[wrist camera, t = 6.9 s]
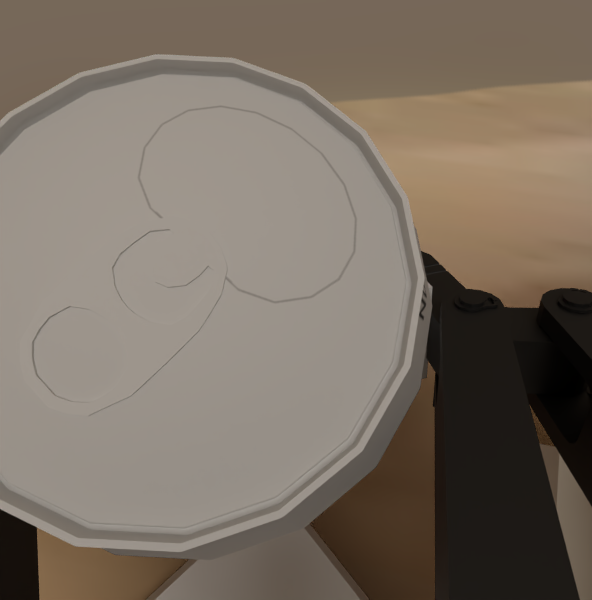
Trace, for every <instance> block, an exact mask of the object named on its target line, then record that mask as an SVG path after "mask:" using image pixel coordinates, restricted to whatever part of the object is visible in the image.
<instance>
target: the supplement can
mask: <svg viewBox="0 0 592 600" xmlns="http://www.w3.org/2000/svg"><path fill="white" fill-rule="evenodd" d="M431 312H432V302H431V297H430V292H429V287H428V283H427V278H426V273H425V268H424V264H423V259H422V254H421V250H420V245H419V240H418V235H417V231H416V228H415V227H414V225H413V220H412V215H411V211H410V206H409V201H408V197H407V195H406V194H405V192H404V190H403V189H402V187H401V186H400V184H399V183H398V181H397V179H396V178H395V176H394V175H393V173H392V172H391V170H390V168H389V167H388V165H387V164H386V162H385V161H384V159H383V157H382V156H381V154H380V153H379V151H378V150H377V148H376V146H375V145H374V143H373V142H372V140H371V138H370V137H369V135H368V134H367V132H366V131H365V130H364V129H363V128H361V127H360V126H359V125H358V124H356V123H355V122H354V121H352V120H351V119H350V118H349V117H347V116H346V115H345V114H343V113H342V112H341V111H340V110H338V109H337V108H336V107H335V106H333V105H332V104H331V103H329V102H328V101H327V100H325V99H324V98H323V97H322V96H321V95H319V94H318V93H317V92H315V91H314V90H313V89H312V88H310V87H309V86H308V85H306V84H305V83H302V82H299V81H296V80H294V79H291V78H288V77H285V76H282V75H280V74H277V73H274V72H271V71H269V70H266V69H263V68H260V67H257V66H255V65H252V64H249V63H246V62H243V61H241V60H238V59H235V58H223V57H202V56H181V55H161V54H156V55H151V56H148V57H143V58H139V59H135V60H131V61H126V62H122V63H118V64H114V65H110V66H106V67H101V68H97V69H93V70H89V71H85V72H81V73H78V74H76V75H74V76H73V77H71V78H69V79H67V80H66V81H64V82H62V83H60V84H58V85H57V86H55V87H53V88H51V89H50V90H48V91H46V92H44V93H43V94H41V95H39V96H37V97H35V98H34V99H32V100H30V101H28V102H27V103H25V104H23V105H21V106H20V107H18V108H16V109H15V110H12V111H11V112H9V113H7V114H6V115H5V116H4V118H3V119H2V120H1V121H0V509H1V510H3V511H5V512H7V513H9V514H11V515H13V516H15V517H17V518H19V519H21V520H23V521H25V522H27V523H29V524H31V525H33V526H35V527H37V528H39V529H41V530H43V531H45V532H47V533H49V534H51V535H53V536H55V537H57V538H59V539H61V540H64V541H66V542H68V543H70V544H72V545H74V546H77V547H95V548H102V549H104V550H106V551H108V552H110V553H112V554H114V555H126V556H144V557H163V558H181V559H199V560H213V559H216V558H219V557H222V556H225V555H228V554H231V553H234V552H237V551H239V550H242V549H245V548H248V547H251V546H254V545H257V544H260V543H263V542H266V541H269V540H271V539H274V538H277V537H280V536H283V535H286V534H289V533H292V532H295V531H298V530H301V529H303V528H305V527H306V526H307V525H308V524H309V523H311V522H312V521H313V520H314V519H315V518H316V517H318V516H319V515H320V514H321V513H322V512H324V511H325V510H326V509H327V508H328V507H330V506H331V505H332V504H333V503H334V502H335V501H337V500H338V499H339V498H340V497H341V496H343V495H344V494H345V493H346V492H347V491H348V490H350V489H351V488H352V487H353V486H354V485H356V484H357V483H358V482H359V481H360V480H362V479H363V478H364V477H365V476H366V475H367V474H369V473H370V472H371V471H372V470H373V469H375V468H376V467H377V465H378V463H379V461H380V459H381V458H382V456H383V454H384V452H385V450H386V449H387V447H388V445H389V443H390V441H391V440H392V438H393V436H394V434H395V432H396V431H397V429H398V427H399V425H400V423H401V422H402V420H403V418H404V416H405V414H406V413H407V411H408V409H409V407H410V406H411V404H412V402H413V400H414V398H415V397H416V395H417V393H418V391H419V389H420V385H421V378H422V372H423V365H424V358H425V352H426V345H427V338H428V332H429V325H430V318H431Z"/></svg>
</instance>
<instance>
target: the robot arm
mask: <svg viewBox="0 0 592 600" xmlns="http://www.w3.org/2000/svg"><path fill="white" fill-rule="evenodd" d="M421 254H422V259H423V264H424V268H425V273H426V278H427V283H428V287H429V292H430V297H431V302H432V312H431V318H430V325H429V332H428V338H427V345H426V352H425V358H424V365H423V372H422V378H421V379H424V378H427V366H428V361H429V363H430V364H431V366H432V367H433V369H434V370H435V372H436V373H435V386H434V399H433V407H435V600H580V598H579V594H578V590H577V586H576V582H575V579H574V575H573V571H572V567H571V563H570V559H569V555H568V552H567V548H566V544H565V540H564V536H563V532H562V528H561V525H560V521H559V517H558V513H557V509H556V505H555V502H554V498H553V494H552V490H551V486H550V482H549V478H548V475H547V471H546V467H545V463H544V459H543V455H542V452H541V448H540V444H539V440H538V436H537V432H536V428H535V425H534V421H533V417H532V413H531V409H530V406H531V408H532V409H533V411H534V412H535V414H536V416H537V417H538V419H539V421H540V422H541V424H542V426H543V427H544V429H545V431H546V432H547V434H548V436H549V437H550V439H551V440H552V442H553V444H554V445H555V447H556V449H557V450H558V452H559V454H560V455H561V457H562V459H563V460H564V462H565V464H566V465H567V467H568V468H569V470H570V472H571V473H572V475H573V477H574V478H575V480H576V482H577V483H578V485H579V487H580V488H581V490H582V492H583V493H584V495H585V497H586V498H587V500H588V501H589V503H590V505H591V506H592V293H591V292H589V291H587V290H582V289H580V290H578V289H576V288H570V289H566V288H560V289H555V290H550V291H548V292H546V293H545V294H543V296H542V299H541V302H540V306H539V308H509V307H504V305H503V304H502V302H501V301H500V299H499V298H497V297H495V296H494V295H492V294H490V293H487V292H484V291H481V290H473V289H466V288H465V287H464V286H462V285H461V284H460V283H459V282H458V281H457V280H456V279H455V278H454V277H453V276H452V275H451V274H450V273H449V272H448V271H446V269H445V268H444V267H443V266H442V265H439V263H438V262H437V261H436V260H435V259H434V258H433V257H432V256H431V255H429V254H427V253H425V252H422V251H421ZM529 404H530V405H529ZM0 600H39V576H38V550H37V527H35V526H33V525H31V524H29V523H27V522H25V521H23V520H21V519H19V518H17V517H15V516H13V515H11V514H9V513H7V512H5V511H3V510H1V509H0Z"/></svg>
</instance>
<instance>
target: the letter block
mask: <svg viewBox="0 0 592 600" xmlns="http://www.w3.org/2000/svg"><path fill="white" fill-rule="evenodd" d="M540 448H541V452H542V455H543V459H544V463H545V467H546V471H547V475H548V478H549V482H550V486H551V490H552V494H553V498H554V502H555V505H556V509H557V513H558V517H559V521H560V525H561V528H562V532H563V536H564V540H565V544H566V548H567V552H568V555H569V559H570V563H571V567H572V571H573V575H574V579H575V582H576V586H577V590H578V594H579V598H580V600H592V506H591V505H590V503H589V501H588V500H587V498H586V497H585V495H584V493H583V492H582V490H581V488H580V487H579V485H578V483H577V482H576V480H575V478H574V477H573V475H572V473H571V472H570V470H569V468H568V467H567V465H566V464H565V462H564V460H563V459H562V457H561V455H560V454H559V452H558V450H557V449H556V447H554V446H549V445H543V444H540Z"/></svg>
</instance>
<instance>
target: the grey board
mask: <svg viewBox="0 0 592 600" xmlns="http://www.w3.org/2000/svg"><path fill="white" fill-rule="evenodd" d="M146 600H369V598H368V597H367V596H366V595H365V593H364V592H363V591H362V589H361V588H360V587H359V586H358V584H357V583H356V582H355V581H354V579H353V578H352V577H351V576H350V574H349V573H348V572H347V570H346V569H345V568H344V567H343V565H342V564H341V563H340V562H339V560H338V559H337V558H336V557H335V555H334V554H333V553H332V551H331V550H330V549H329V548H328V546H327V545H326V544H325V543H324V541H323V540H322V539H321V538H320V536H319V535H318V534H317V532H316V531H315V530H314V529H313V527H312V526H311V525H310V524H308V525H307V526H306V527H305V528H303V529H301V530H298V531H295V532H292V533H289V534H286V535H283V536H280V537H277V538H274V539H271V540H269V541H266V542H263V543H260V544H257V545H254V546H251V547H248V548H245V549H242V550H239V551H237V552H234V553H231V554H228V555H225V556H222V557H219V558H216V559H213V560H199V559H189V560H188V561H187V562H186V563H185V564H184V565H183V566H182V567H181V568H179V569H178V570H177V571H176V572H175V573H174V574H173V575H172V576H171V577H170V578H169V579H168V580H166V581H165V582H164V583H163V584H162V585H161V586H160V587H159V588H158V589H157V590H156V591H155V592H154V593H152V594H151V595H150V596H149V597H148V598H147V599H146Z"/></svg>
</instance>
